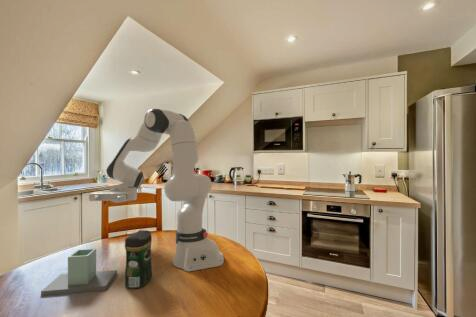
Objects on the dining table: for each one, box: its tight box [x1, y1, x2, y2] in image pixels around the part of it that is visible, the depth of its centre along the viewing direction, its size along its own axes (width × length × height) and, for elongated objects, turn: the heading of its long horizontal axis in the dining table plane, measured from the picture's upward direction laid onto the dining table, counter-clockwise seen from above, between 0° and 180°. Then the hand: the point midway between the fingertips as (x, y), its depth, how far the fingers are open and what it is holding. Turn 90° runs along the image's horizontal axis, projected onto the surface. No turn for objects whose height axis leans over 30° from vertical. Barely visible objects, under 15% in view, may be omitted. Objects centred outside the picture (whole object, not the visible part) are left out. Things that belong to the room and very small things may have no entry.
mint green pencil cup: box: [67, 248, 97, 285], centre depth 82 cm, size 6×6×10 cm
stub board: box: [40, 269, 118, 296], centre depth 82 cm, size 20×11×6 cm, turn 100°
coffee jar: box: [124, 229, 153, 290], centre depth 83 cm, size 10×8×19 cm
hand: (107, 198), depth 99 cm, fingers open, 8 cm apart
